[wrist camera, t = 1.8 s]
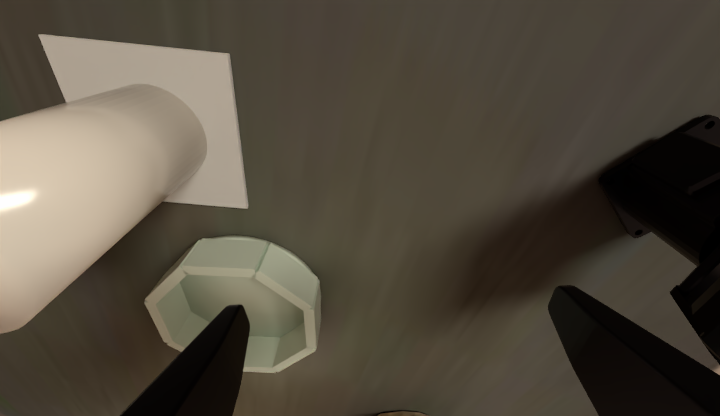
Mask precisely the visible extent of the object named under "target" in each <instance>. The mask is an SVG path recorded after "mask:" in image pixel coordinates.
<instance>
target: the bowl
mask: <svg viewBox="0 0 720 416" xmlns="http://www.w3.org/2000/svg"><path fill="white" fill-rule="evenodd" d="M144 303H145V305H146V307H147V309H148V311H149V313H150V315H151V317H152V319H153V321H154V323H155V325H156V327H157V329H158V331H159V333H160V335H161V337H162V339H163V341H164V343H167V345H168V346H170V347H172V348H174V349H176V350H178V351H180V352H182V351H183V350H184V349H185V348H186V347H187V346H188V345H189V344H190V343H191V342H192V341H193V340H194V339H195V338H196V337H197V336H198V335H199V334H200V332H201V331H202V330H203V329H204V328H205V327H206V326H207V325H208V324H209V323H210V322H211V321H212V320H213V319H214V318H215V317H216V316H217V315H218V314H219V313H220V312H221V311H222V310H223V309H224V308H225V307H226V306H228V305H236V304H241V305H243V306H244V309H245V311H246V314H247V317H248V319H249V322H250V333H249V339H248V344H247V350H246V356H245V362H244V368H243V372H266V373H275V371H276V372H280V371H281V370H283V369H285V368H286V367H288V366H290V365H292V364H293V363H295V362H297V361H299V360H300V359H302V358H304V357H306V356H307V355H309V354H311V353H313V352H314V351H315V349H317V343H318V336H319V330H320V323H321V289H320V281H319V280H318V277H317V276H315V275H314V273H313V272H312V270H311V269H310V268H309V267H308V266H307V264H306V263H305V262H304V261H303V260H301V259H300V258H299V257H298V256H297V255H295V254H294V253H292V252H291V251H289V250H287V249H285V248H284V247H282V246H280V245H277V244H275V243H272V242H270V241H267V240H264V239H260V238H256V237H251V236H243V235H224V236H216V237H212V238H208V239H205V238H202V239H201V240H198V241H197V242H196V243H195V244H194V245H193V246H192V247H190V248H189V249H188V250H187V251H186V252H185V253H184V254H183V255H182V257H181V258H180V259H179V260H178V261H177V262H176V263H175V264H174V265H173V266H172V267H171V268H170V269H169V270H168V271H167V272H166V273H165V274H164V275H163V277H162V278H161V279H160V281H159V282H158V283H157V284H156V286H155V287H154V288H153V289H152V291H151V292H150V293H149V294H148V296H147V297H146V298H145V302H144Z"/></svg>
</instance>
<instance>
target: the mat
mask: <svg viewBox="0 0 720 416" xmlns="http://www.w3.org/2000/svg"><path fill="white" fill-rule="evenodd" d="M39 38H40V40H41V43H42V45H43V47H44V50H45V52H46V55H47V57H48V59H49V62H50V64H51V67H52V69H53V72H54V74H55V76H56V79H57V81H58V84H59V86H60V88H61V91H62V93H63V96H64V98H65V101H66V103H67V102H70V101H74V100H77V99H81V98H84V97H88V96H92V95H95V94H99V93H102V92H106V91H109V90H113V89H116V88H120V87H123V86H127V85H131V84H149V85H153V86H157V87H159V88H162V89H164V90H166V91H168V92H170V93H172V94H174V95H175V96H177V97H178V98H179V99H181V100H182V101H183V102H184V103H185V104H186V105H187V106H189V108H190V109H191V110H192V111H193V112H194V113H195V115H196V116H197V118H198V119H199V121H200V123H201V124H202V127H203V129H204V131H205V135H206V139H207V155H206V158H205V160H204V163H203V164H202V166H201V167H200V168H199V169H198V170H197V171H196V172H195V173H194V174H192V175H191V176H190V177H189V178H188V179H187V180H186V181H185V182H184V183H182V184H181V185H180V186H179V187H178V188H177V189H176V190H175V191H174V192H172V193H171V194H170V195H169V196H168V197H167V198H166V199H165V200H163V201H164V202H175V203H186V204H198V205H209V206H221V207H232V208H243V209H247V208H248V207H249V206H248V198H247V190H246V182H245V174H244V166H243V158H242V150H241V142H240V134H239V125H238V117H237V109H236V101H235V93H234V85H233V77H232V69H231V61H230V54H228V53H219V52H209V51H199V50H190V49H180V48H170V47H161V46H151V45H141V44H132V43H122V42H112V41H103V40H93V39H83V38H74V37H64V36H54V35H45V34H41V35H39Z"/></svg>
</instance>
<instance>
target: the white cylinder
mask: <svg viewBox="0 0 720 416" xmlns="http://www.w3.org/2000/svg"><path fill="white" fill-rule="evenodd" d="M206 155H207V139H206V135H205V131H204V129H203V127H202V124H201V123H200V121H199V119H198V118H197V116H196V115H195V113H194V112H193V111H192V110H191V109H190V108H189V106H187V105H186V104H185V103H184V102H183V101H182V100H181V99H179V98H178V97H177V96H175V95H174V94H172V93H170V92H168V91H166V90H164V89H162V88H159V87H157V86H153V85H149V84H131V85H127V86H123V87H120V88H116V89H113V90H109V91H106V92H102V93H99V94H95V95H92V96H88V97H84V98H81V99H77V100H74V101H70V102H67V103H63V104H60V105H56V106H53V107H49V108H46V109H42V110H39V111H35V112H31V113H28V114H24V115H21V116H17V117H14V118H10V119H7V120H3V121H0V333H6V332H10V331H14V330H16V329H19V328H20V327H22V326H24V325H25V324H26V323H28V322H29V321H30V320H31V319H32V318H33V317H34V316H35V315H36V314H38V313H39V312H40V311H41V310H42V309H43V308H44V307H45V306H46V305H48V304H49V303H50V302H51V301H52V300H53V299H54V298H55V297H56V296H58V295H59V294H60V293H61V292H62V291H63V290H64V289H65V288H67V287H68V286H69V285H70V284H71V283H72V282H73V281H74V280H75V279H77V278H78V277H79V276H80V275H81V274H82V273H83V272H84V271H85V270H87V269H88V268H89V267H90V266H91V265H92V264H93V263H94V262H95V261H97V260H98V259H99V258H100V257H101V256H102V255H103V254H104V253H106V252H107V251H108V250H109V249H110V248H111V247H112V246H113V245H114V244H116V243H117V242H118V241H119V240H120V239H121V238H122V237H123V236H124V235H126V234H127V233H128V232H129V231H130V230H131V229H132V228H133V227H135V226H136V225H137V224H138V223H139V222H140V221H141V220H142V219H143V218H145V217H146V216H147V215H148V214H149V213H150V212H151V211H152V210H153V209H155V208H156V207H157V206H158V205H159V204H160V203H161V202H162V201H163V200H165V199H166V198H167V197H168V196H169V195H170V194H171V193H172V192H174V191H175V190H176V189H177V188H178V187H179V186H180V185H181V184H182V183H184V182H185V181H186V180H187V179H188V178H189V177H190V176H191V175H192V174H194V173H195V172H196V171H197V170H198V169H199V168H200V167H201V166H202V164H203V163H204V160H205V158H206Z"/></svg>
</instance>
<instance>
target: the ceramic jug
mask: <svg viewBox="0 0 720 416" xmlns="http://www.w3.org/2000/svg"><path fill="white" fill-rule="evenodd" d="M377 416H429V415H426V414H423V413H420V412H408V411H400V412H391V413H382V414H379V415H377Z"/></svg>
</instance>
